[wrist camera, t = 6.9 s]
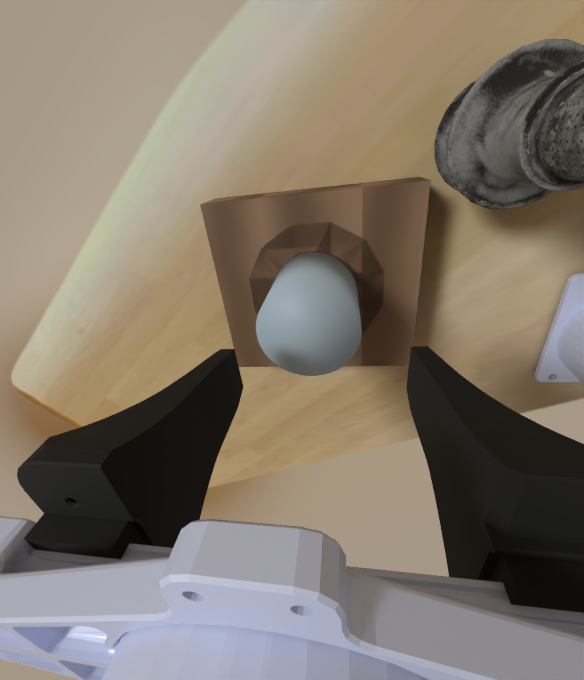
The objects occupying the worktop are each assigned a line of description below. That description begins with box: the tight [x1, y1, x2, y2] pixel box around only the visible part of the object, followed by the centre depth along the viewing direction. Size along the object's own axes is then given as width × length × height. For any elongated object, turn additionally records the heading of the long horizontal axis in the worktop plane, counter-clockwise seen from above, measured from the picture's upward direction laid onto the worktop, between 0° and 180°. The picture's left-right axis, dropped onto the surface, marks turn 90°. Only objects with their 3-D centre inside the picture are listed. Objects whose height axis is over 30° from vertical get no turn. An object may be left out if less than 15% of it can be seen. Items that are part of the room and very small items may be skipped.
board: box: [200, 177, 431, 367], centre depth 20 cm, size 12×11×2 cm
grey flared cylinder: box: [435, 39, 584, 209], centre depth 11 cm, size 6×6×12 cm
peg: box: [256, 252, 362, 376], centre depth 18 cm, size 5×5×7 cm
